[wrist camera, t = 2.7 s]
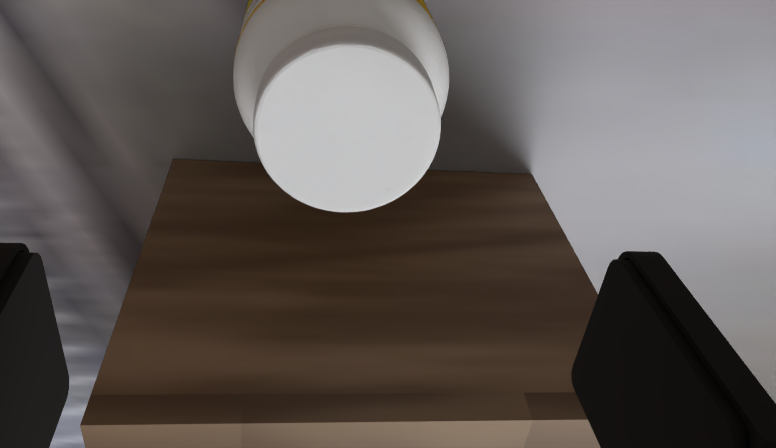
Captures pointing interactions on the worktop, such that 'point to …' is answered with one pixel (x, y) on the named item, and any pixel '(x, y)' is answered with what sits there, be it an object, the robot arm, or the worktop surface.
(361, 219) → the box
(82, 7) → the worktop surface
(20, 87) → the worktop surface
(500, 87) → the worktop surface
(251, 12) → the pill bottle
